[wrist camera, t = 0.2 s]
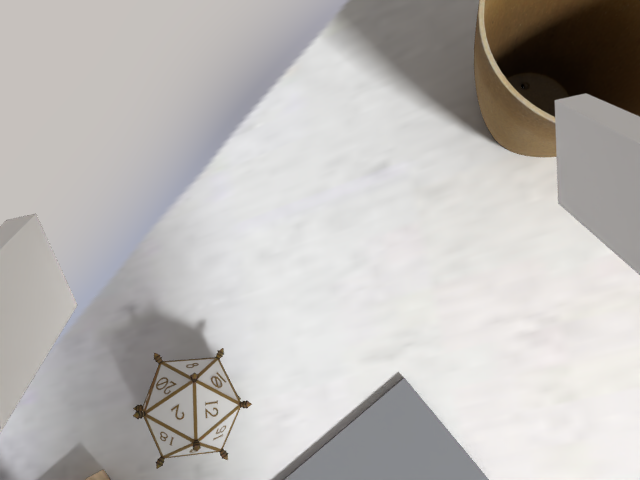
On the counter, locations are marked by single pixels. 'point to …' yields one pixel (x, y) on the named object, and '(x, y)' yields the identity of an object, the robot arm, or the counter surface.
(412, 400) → the mat
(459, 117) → the counter surface
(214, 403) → the game die
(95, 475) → the wooden compartment tray
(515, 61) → the plant pot
